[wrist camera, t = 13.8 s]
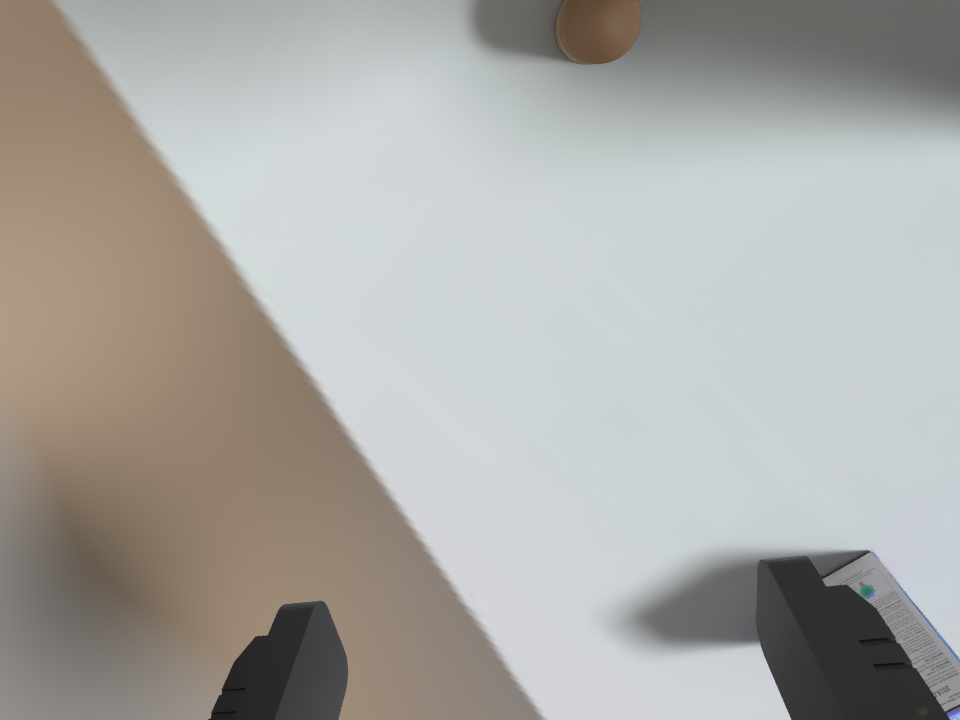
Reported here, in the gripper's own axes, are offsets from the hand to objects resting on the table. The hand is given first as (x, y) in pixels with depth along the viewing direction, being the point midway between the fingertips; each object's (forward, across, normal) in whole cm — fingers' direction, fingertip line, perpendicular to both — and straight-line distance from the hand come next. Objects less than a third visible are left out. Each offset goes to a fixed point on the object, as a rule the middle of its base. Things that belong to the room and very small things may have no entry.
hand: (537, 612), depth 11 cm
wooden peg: (+29, -5, -10) cm, 31 cm away
